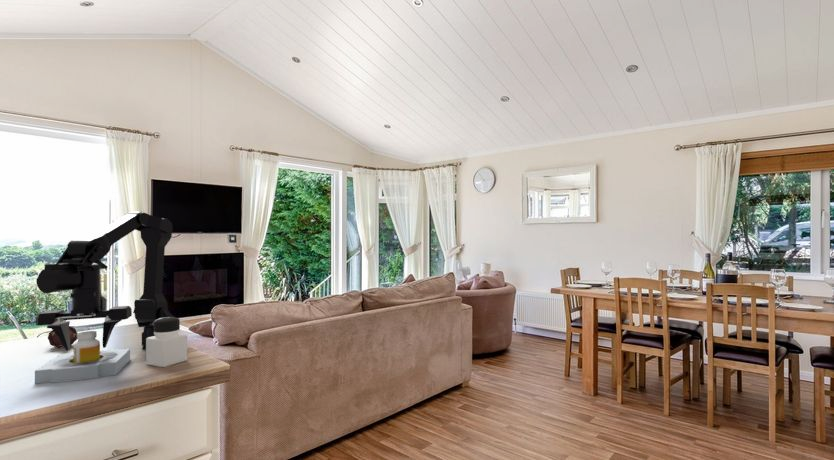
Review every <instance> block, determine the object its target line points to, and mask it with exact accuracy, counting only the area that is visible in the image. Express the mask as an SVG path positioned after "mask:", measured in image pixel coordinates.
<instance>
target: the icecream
mask: <svg viewBox="0 0 834 460" xmlns="http://www.w3.org/2000/svg"><path fill="white" fill-rule="evenodd" d="M77 333H78V331H77V330H76V328H75V327H74V326H70V325H69V337H70V347H71V346H72V345H74V344H75V343H76V342H77V341H78V339H77ZM47 339H48V342H49V345H50V346H51V347H54V348H58V349H61V347H63V348H64V346H63V344H62V343H61V341H60V339H59V337H58V336H57V335H56V334H55V332H54V331H53V330H52V329H51V331H49V333H48V336H47Z"/></svg>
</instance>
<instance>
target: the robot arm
mask: <svg viewBox="0 0 834 460" xmlns="http://www.w3.org/2000/svg"><path fill="white" fill-rule="evenodd" d="M173 226H174V225H173V223H172V222H171V221H170V219H169V218H166V217H165V218H164V217H158V216H156V215H151V214H149V213H146V212H143V211H129V212H127V213H125V214H124V216H122V217H120V218H118V219H117V220H115V221H114V222H112V223H110V224H108V225H107V226H105V227H103V228H102V229H100V230H99V231H96V232H95V233H91V234H86V235H82V236H79V237H76V238H74V239H73V238H72V239H71V240H70V241H69V242H68V243H67V247H66V249H65V250H64V252H63V253H62V255H60V258H59V259H58V260H57V261H56V263H44V269H43V270H41V271H40V272H39V273H38V275H37V278H36V280H35V281H36V285H37V288H38V290H39V291H41V292H42V293H44V294H52V293H59V292H66V291H71V293H70V298H71V309H70V312H65V309H56V310H54V309H53V310H45V311H43V312H40V313H38V314H37V315H36V321H35V325H36V326H39V327H40V326H46V328H47V329H51V331H52V330H53V331H54V332H55V334H56V335H57V336H58V337H59V339H60V341H61V343H62V344H63V346H64V347H63V348H64V349H65V351H66V352H69V351H70V349H71V346H70V337H69V326H70V323H71V321H74V320H86V319H87V320H88V319H101V318H102V319H105V318H106V320H105V321H104V322H103V325H102V341H101V342H102V348H106V347H107V345H108V343H109V340H110V337H111V335H112V331H113V330H114V328H115V326H116V324H118V323H120V322H121V321H123V320H124V321H125V320H127V319H129V318H130V317H132V314H134V318H135V320H136V323H137V326H138V328H143V331H142V332H141V349H142V350H146V338H148V337H152V336H155V335H154V321H155V320H157V319H159V318H164V317H175V316H174V315H173V313H171V312H170V311H169V310H168V309H169V308H168V300H167V299H166V297H165V295H164V294H163V284H164V283H163V282H164V281H163V280H164V265H165V252H166V251H165V249H166V246H167V244H168V243H169V242H170V241H171V239H172V235H173V234H172V233H173ZM134 231H137V232H140V238H141V240H142V242H143V244H144V246H145V261H144V272H143V273H144V275H143V277H144V278H143V292H142V295H141V296H140V297H139V299H135V300H134V302H133V303H134V309H133V310H132V307H131V306H130V305H121V306H113V307H111V308H109V309H108V310H107V298H105V297H104V296H103V295H102V289H101V270H102V269H103V270H106V269H108V265H106V263H104V262H103V261H101V260H103V258H105V256H106V255H107V254H109V252H111V251H110V250H111V248H112V246H113V245H114V244H115V243H117V242H118V241H120V240H122V239H123V238H125V237H126V236H128V235H129V234H131V233H132V232H134ZM132 312H133V313H132Z"/></svg>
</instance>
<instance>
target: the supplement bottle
mask: <svg viewBox="0 0 834 460" xmlns="http://www.w3.org/2000/svg"><path fill="white" fill-rule="evenodd" d="M96 338H97V331H96V330H89V331H88V330H87V331H81V332H77V341H75V342H74V343H73V347H72V348H73V349H72V351H73V353H72V354H74V355H73V359H74V363H82V362H89V361H95V360H98V359H100V351H101V342H100V340H99V339H96Z"/></svg>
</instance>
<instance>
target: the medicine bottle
mask: <svg viewBox="0 0 834 460" xmlns="http://www.w3.org/2000/svg"><path fill="white" fill-rule="evenodd" d="M180 322H181V321H180V318H178V317H175V316H174V317H164V318H159V319H157V320H155V321H154V335H155V336H152V337H148V338H146V349H145V364H146V365H149V366H155V367H159V368H165V367H169V366H173V365H175V364H179V363H182V362H186V361H187V360H188V334H184V333H180V331H181V330H180V327H181V326H180Z"/></svg>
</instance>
